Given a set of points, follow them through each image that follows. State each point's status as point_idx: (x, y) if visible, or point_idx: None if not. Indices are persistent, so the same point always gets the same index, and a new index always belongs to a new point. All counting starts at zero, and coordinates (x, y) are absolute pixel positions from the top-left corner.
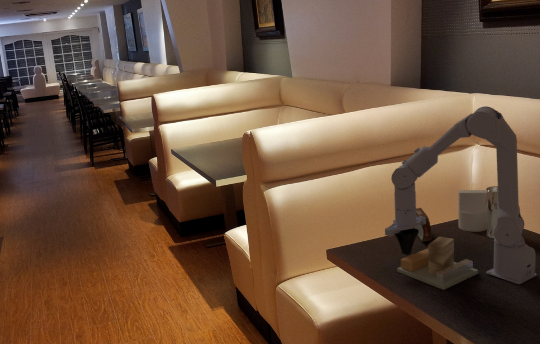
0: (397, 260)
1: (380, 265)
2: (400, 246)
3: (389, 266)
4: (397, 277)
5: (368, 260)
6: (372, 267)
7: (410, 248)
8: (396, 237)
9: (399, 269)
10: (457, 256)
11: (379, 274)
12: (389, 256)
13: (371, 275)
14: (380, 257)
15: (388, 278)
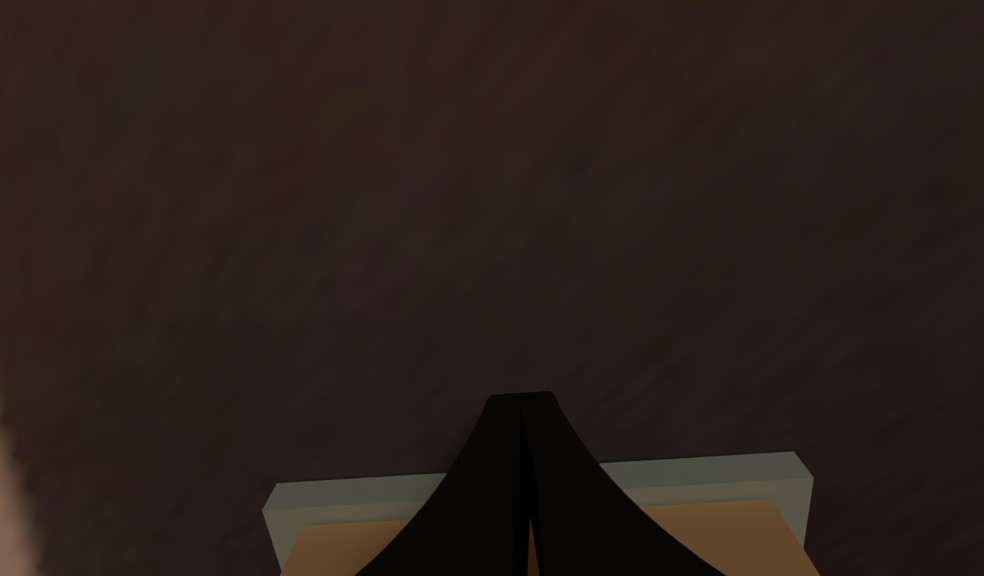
0: (463, 290)
1: (213, 275)
2: (464, 450)
3: (286, 354)
4: (213, 554)
5: (152, 49)
6: (102, 261)
7: (537, 559)
8: (363, 572)
9: (272, 532)
10: (978, 569)
11: (93, 429)
12: (471, 130)
13: (8, 401)
14: (351, 75)
15: (131, 527)
